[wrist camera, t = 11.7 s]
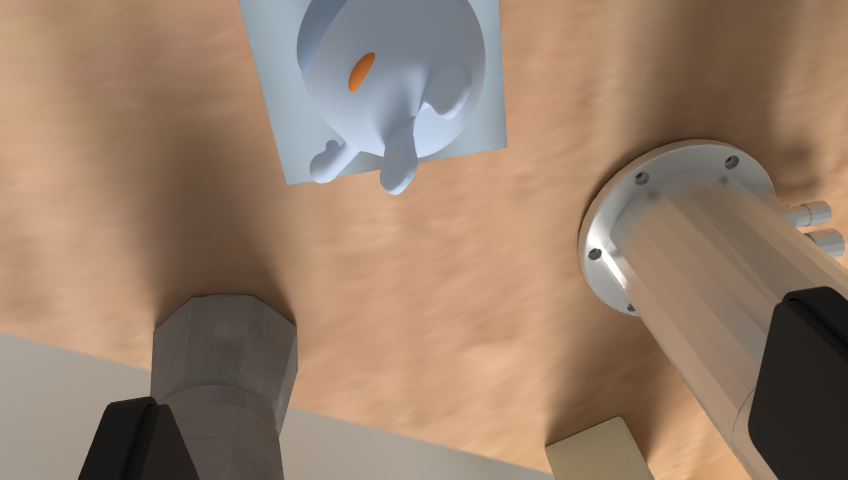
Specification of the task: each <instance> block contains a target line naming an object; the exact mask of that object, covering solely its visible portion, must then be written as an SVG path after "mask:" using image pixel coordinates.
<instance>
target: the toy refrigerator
mask: <svg viewBox="0 0 848 480" xmlns="http://www.w3.org/2000/svg"><path fill="white" fill-rule="evenodd" d="M545 452H546V455H547V458H548V461H549V463H550V466H551V469H552V472H553V474H554V477H555V480H655V479H654V477H653V475H652V473H651V471H650V470H649V468H648V466H647V464H646V462H645V460H644V458H643V456H642V454H641V452H640V450H639V448H638V446H637V445H636V443H635V441H634V439H633V437H632V435H631V433H630V431H629V429H628V427H627V425H626V424H625V422H624V420H623V419H622V418H621V417H620V416H617V417H614V418H612V419H610V420H607V421H605V422H603V423H601V424H598V425H596V426H594V427H591V428H589V429H587V430H584V431H582V432H579V433H577V434H575V435H572V436H570V437H568V438H566V439H563V440H561V441H558V442H556V443H554V444H552V445H549V446H547V447H546V448H545Z"/></svg>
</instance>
